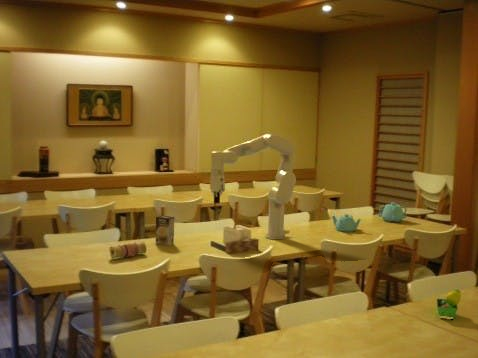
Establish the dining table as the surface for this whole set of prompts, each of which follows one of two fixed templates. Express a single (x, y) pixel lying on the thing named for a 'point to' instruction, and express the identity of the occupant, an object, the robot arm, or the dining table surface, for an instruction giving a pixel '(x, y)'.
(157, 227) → the coffee box
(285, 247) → the dining table surface
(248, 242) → the guide track
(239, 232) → the cable organizer
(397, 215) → the decorative pot
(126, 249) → the scroll
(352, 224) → the teapot
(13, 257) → the dining table surface
